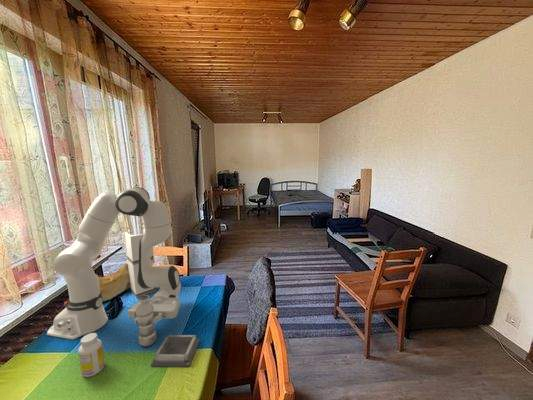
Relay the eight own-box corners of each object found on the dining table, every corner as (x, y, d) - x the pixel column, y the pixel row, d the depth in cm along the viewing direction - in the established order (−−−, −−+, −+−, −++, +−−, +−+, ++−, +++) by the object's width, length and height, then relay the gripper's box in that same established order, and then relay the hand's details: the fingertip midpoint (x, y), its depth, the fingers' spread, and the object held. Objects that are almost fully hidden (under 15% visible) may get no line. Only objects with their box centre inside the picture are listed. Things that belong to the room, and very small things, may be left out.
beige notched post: (156, 291, 138) (151, 232, 133) (136, 298, 131) (130, 236, 126) (149, 284, 147) (145, 228, 141) (130, 290, 139) (124, 232, 134)
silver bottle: (150, 350, 94) (145, 303, 91) (135, 347, 95) (130, 301, 92) (160, 338, 100) (156, 294, 97) (146, 336, 102) (142, 292, 99)
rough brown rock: (126, 281, 152) (122, 259, 150) (140, 286, 142) (136, 262, 141) (83, 300, 132) (78, 275, 130) (97, 307, 123) (91, 280, 121)
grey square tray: (150, 366, 86) (150, 358, 86) (166, 340, 99) (165, 333, 99) (189, 367, 86) (188, 358, 85) (199, 340, 99) (199, 333, 98)
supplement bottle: (101, 359, 90) (97, 328, 88) (107, 368, 86) (103, 336, 84) (79, 371, 85) (74, 338, 83) (84, 381, 81) (80, 347, 79)
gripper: (137, 295, 109) (118, 314, 95) (181, 296, 108) (168, 315, 95) (138, 308, 110) (119, 329, 96) (182, 308, 109) (170, 329, 96)
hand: (144, 322), depth 95 cm, fingers closed on silver bottle, 5 cm apart
